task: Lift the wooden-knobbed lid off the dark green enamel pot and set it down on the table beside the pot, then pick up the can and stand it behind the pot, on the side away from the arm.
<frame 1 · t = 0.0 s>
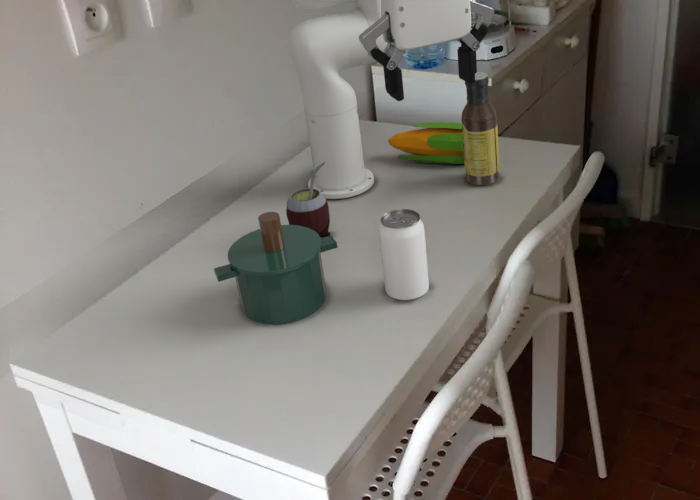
hand: (432, 89, 100), 31 cm above the table, tool pointing down, fingers open, 9 cm apart
pot: (284, 299, 120), on the table
pot lid: (275, 250, 116), point 8 cm above the table, touching pot
corn: (436, 160, 158), on the table
mate gourd: (314, 238, 136), on the table
can: (407, 291, 119), on the table
sauce bottle: (482, 180, 148), on the table
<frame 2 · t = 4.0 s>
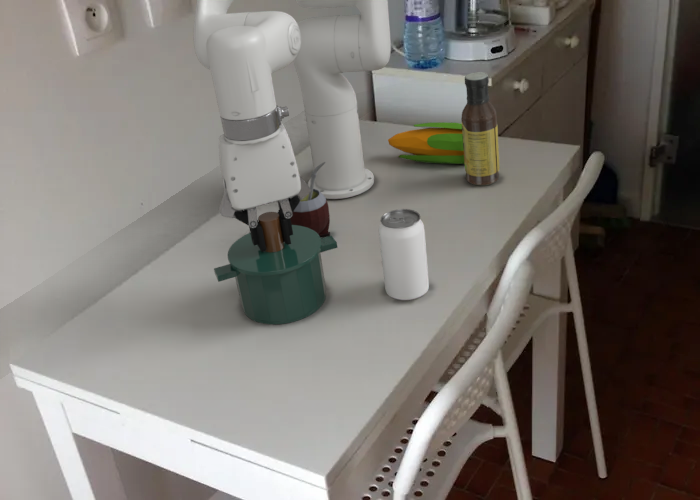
hand: (273, 242, 115), 10 cm above the table, tool pointing down, fingers closed on pot lid, 3 cm apart
pot lid: (275, 250, 116), point 9 cm above the table, touching gripper, pot
everything else where it was.
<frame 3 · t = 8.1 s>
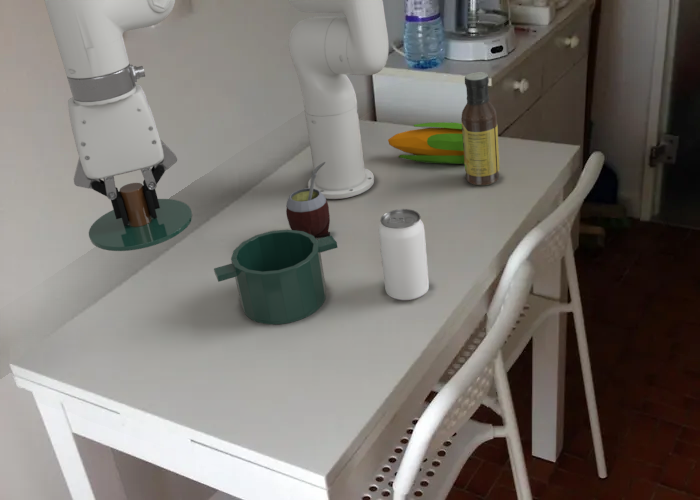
hand: (139, 216, 106), 19 cm above the table, tool pointing down, fingers closed on pot lid, 3 cm apart
pot lid: (141, 225, 107), point 18 cm above the table, touching gripper
everything else where it was.
when the fingers open (2 cm above the table, at t = 12.0 s): pot lid stays where it is, point 1 cm above the table.
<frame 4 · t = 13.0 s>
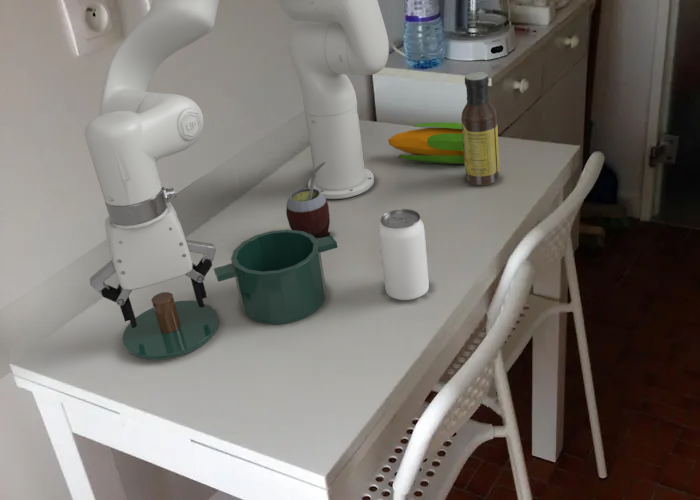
hand: (167, 312, 114), 4 cm above the table, tool pointing down, fingers open, 9 cm apart
pot lid: (171, 330, 116), point 1 cm above the table
everything else where it was.
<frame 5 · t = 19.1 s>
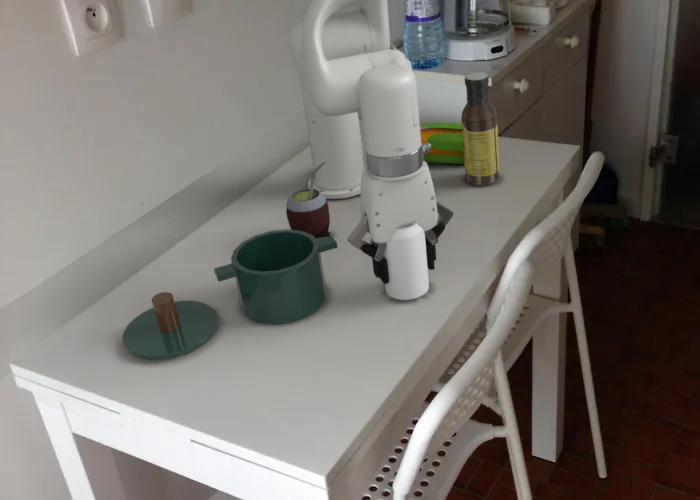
hand: (405, 271, 117), 3 cm above the table, tool pointing down, fingers closed on can, 6 cm apart
can: (407, 291, 119), on the table, touching gripper
everything else where it was.
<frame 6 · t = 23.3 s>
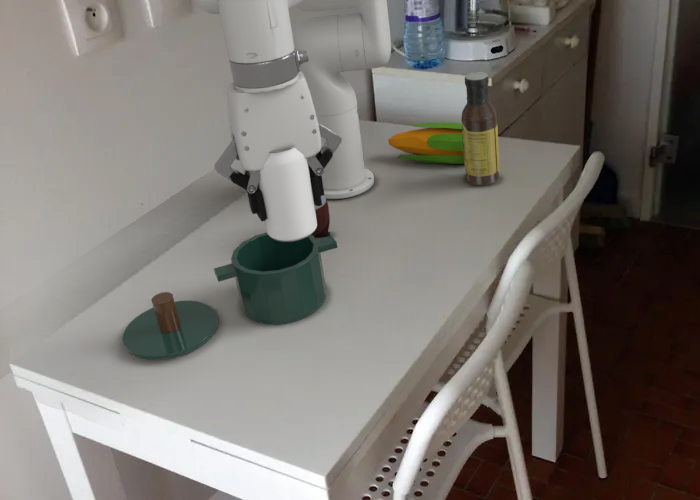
hand: (288, 208, 100), 20 cm above the table, tool pointing down, fingers closed on can, 6 cm apart
can: (292, 231, 102), point 17 cm above the table, touching gripper
everything else where it was.
when the fingers open (3 cm above the table, at t = 27.5 s): can stays where it is, on the table.
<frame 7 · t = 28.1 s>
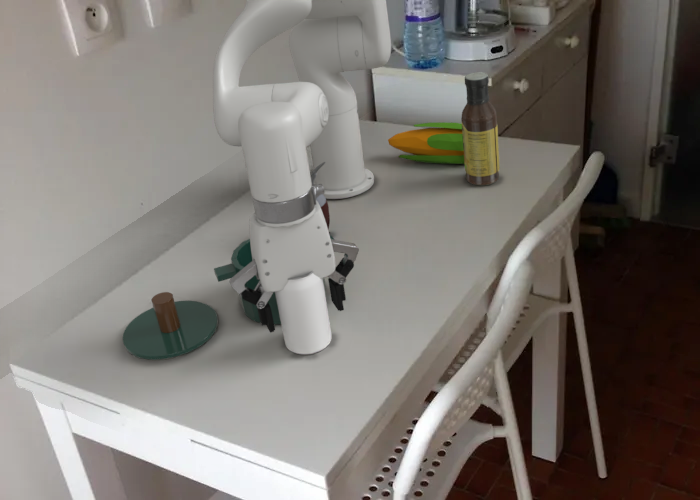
hand: (304, 316, 108), 4 cm above the table, tool pointing down, fingers open, 9 cm apart
can: (309, 343, 110), on the table
everything else where it was.
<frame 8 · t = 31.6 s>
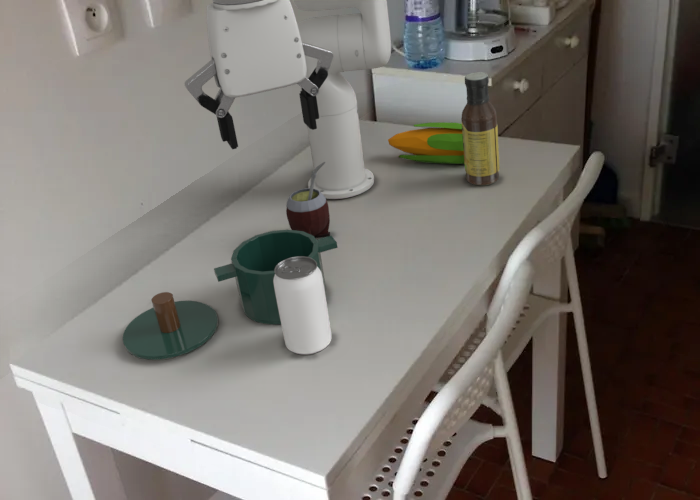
hand: (272, 135, 95), 30 cm above the table, tool pointing down, fingers open, 9 cm apart
nothing on the table moved.
at the end: pot lid inside the target area (0.1 cm from its centre), point 0.6 cm above the table; can inside the target area on the table beside the pot (0.8 cm from its centre), on the table; can tilted 0° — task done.
